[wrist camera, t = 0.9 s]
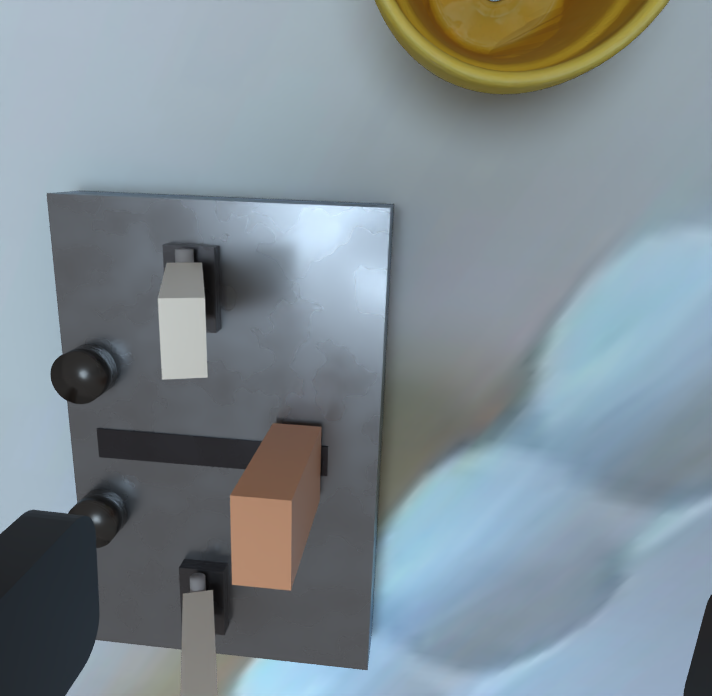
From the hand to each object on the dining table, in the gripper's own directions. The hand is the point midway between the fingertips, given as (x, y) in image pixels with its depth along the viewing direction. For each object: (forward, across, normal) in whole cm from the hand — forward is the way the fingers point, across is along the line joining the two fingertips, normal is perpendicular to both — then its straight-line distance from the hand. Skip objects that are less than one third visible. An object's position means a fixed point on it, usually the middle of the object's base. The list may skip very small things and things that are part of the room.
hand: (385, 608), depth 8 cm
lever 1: (+20, +10, 0) cm, 23 cm away
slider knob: (+21, +4, +9) cm, 23 cm away
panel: (+25, +8, +9) cm, 28 cm away
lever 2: (+21, +9, +18) cm, 29 cm away
